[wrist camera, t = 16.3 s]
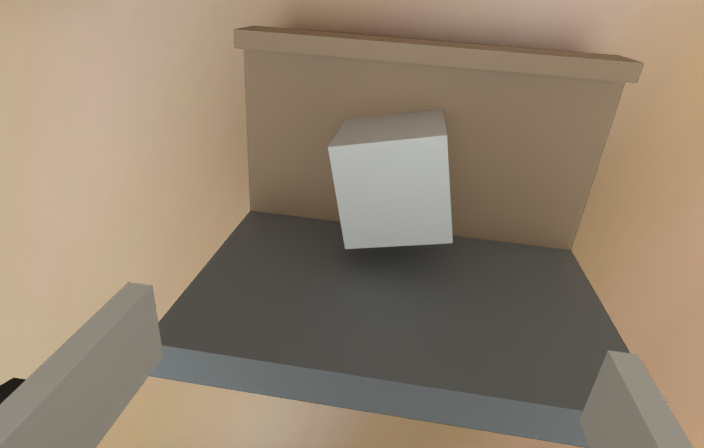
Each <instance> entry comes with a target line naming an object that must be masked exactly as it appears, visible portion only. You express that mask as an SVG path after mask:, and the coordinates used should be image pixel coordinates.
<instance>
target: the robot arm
mask: <svg viewBox="0 0 704 448" xmlns="http://www.w3.org/2000/svg"><path fill="white" fill-rule="evenodd" d="M162 357H163V350H162V344H161V337H160V331H159V324H158V318H157V312H156V305H155V299H154V292H153V286H152V285H145V284H138V283H131V282H128V283H127V284H126V285H125V286H124V287H123V288H122V289H121V290H120V291H119V292H118V293H117V294H116V295H115V296H113V297H112V298H111V299H110V300H109V301H108V302H107V303H106V304H105V305H104V306H103V307H102V308H101V309H100V310H99V311H98V312H97V313H96V314H95V315H94V316H92V317H91V318H90V319H89V320H88V321H87V322H86V323H85V324H84V325H83V326H82V327H81V328H80V329H79V330H78V331H77V332H76V333H75V334H74V335H73V336H72V337H70V338H69V339H68V340H67V341H66V342H65V343H64V344H63V345H62V346H61V347H60V348H59V349H58V350H57V351H56V352H55V353H54V354H53V355H52V356H51V357H49V358H48V359H47V360H46V361H45V362H44V363H43V364H42V365H41V366H40V367H39V368H38V369H37V370H36V371H35V372H34V373H33V374H32V375H31V376H30V377H28V378H27V379H26V380H25V379H19V378H12V379H11V380H9V381H7V382H6V383H4V384H2V385H0V448H96V447H97V445H98V444H99V443H100V441H101V440H102V439H103V437H104V436H105V434H106V433H107V432H108V430H109V429H110V428H111V426H112V425H113V424H114V422H115V421H116V420H117V418H118V417H119V415H120V414H121V413H122V411H123V410H124V409H125V407H126V406H127V405H128V403H129V402H130V400H131V399H132V398H133V396H134V395H135V394H136V392H137V391H138V390H139V388H140V387H141V385H142V384H143V383H144V381H145V380H146V379H147V377H148V376H149V375H150V373H151V372H152V371H153V369H154V368H155V366H156V365H157V364H158V362H159V361H160V360H161V358H162ZM579 423H580V425H581V428H582V431H583V434H584V436H585V439H586V442H587V444H588V447H589V448H693V446H692V445H691V443H690V441H689V440H688V438H687V436H686V435H685V433H684V431H683V430H682V428H681V426H680V425H679V423H678V421H677V420H676V418H675V416H674V415H673V413H672V411H671V410H670V408H669V406H668V405H667V403H666V401H665V400H664V398H663V396H662V395H661V393H660V391H659V390H658V388H657V386H656V385H655V383H654V381H653V380H652V378H651V376H650V375H649V373H648V371H647V370H646V368H645V366H644V365H643V363H642V361H641V360H640V358H639V356H638V355H637V354H631V353H624V352H617V351H610V350H608V351H607V354H606V356H605V359H604V361H603V363H602V366H601V368H600V371H599V373H598V376H597V378H596V381H595V383H594V385H593V388H592V390H591V393H590V395H589V398H588V400H587V403H586V405H585V407H584V410H583V412H582V415H581V417H580V420H579Z"/></svg>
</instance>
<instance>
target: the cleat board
mask: <svg viewBox="0 0 704 448" xmlns="http://www.w3.org/2000/svg"><path fill="white" fill-rule="evenodd" d="M234 44H235V48H239V49H244V60H245V86H246V111H247V136H248V162H249V187H250V212H249V213H248V214H247V215H246V217H245V218H244V219H243V220H242V222H241V223H240V224H239V225H238V226H237V228H236V229H235V230H234V231H233V233H232V234H231V235H230V236H229V237H228V239H227V240H226V241H225V242H224V243H223V245H222V246H221V247H220V248H219V250H218V251H217V252H216V253H215V254H214V256H213V257H212V258H211V259H210V261H209V262H208V263H207V264H206V265H205V267H204V268H203V269H202V270H201V271H200V273H199V274H198V275H197V276H196V278H195V279H194V280H193V281H192V282H191V284H190V285H189V286H188V287H187V289H186V290H185V291H184V292H183V293H182V295H181V296H180V297H179V298H178V299H177V301H176V302H175V303H174V304H173V306H172V307H171V308H170V309H169V310H168V312H167V313H166V314H165V315H164V317H163V318H162V319H161V320H160V321H159V323H158V324H159V331H160V337H161V344H162V350H163V357H162V358H161V360H160V361H159V362H158V364H157V365H156V366H155V368H154V369H153V371H152V372H151V373H150V375H149V376H151V377H157V378H163V379H169V380H176V381H182V382H188V383H194V384H200V385H206V386H212V387H218V388H225V389H231V390H237V391H243V392H249V393H255V394H261V395H267V396H274V397H280V398H286V399H292V400H298V401H304V402H310V403H316V404H323V405H329V406H335V407H341V408H347V409H353V410H359V411H365V412H372V413H378V414H384V415H390V416H396V417H402V418H408V419H414V420H421V421H427V422H433V423H439V424H445V425H451V426H457V427H463V428H469V429H476V430H482V431H488V432H494V433H500V434H506V435H512V436H518V437H525V438H531V439H537V440H543V441H549V442H555V443H561V444H567V445H574V446H580V447H586V448H589V447H588V444H587V442H586V439H585V436H584V434H583V431H582V428H581V425H580V423H579V420H580V417H581V415H582V412H583V410H584V407H585V405H586V403H587V400H588V398H589V395H590V393H591V390H592V388H593V385H594V383H595V381H596V378H597V376H598V373H599V371H600V368H601V366H602V363H603V361H604V359H605V356H606V354H607V351H608V350H610V351H617V352H624V353H630V352H629V350H628V349H627V347H626V345H625V343H624V342H623V340H622V338H621V336H620V335H619V333H618V331H617V329H616V328H615V326H614V324H613V322H612V321H611V319H610V317H609V315H608V314H607V312H606V310H605V309H604V307H603V305H602V303H601V302H600V300H599V298H598V296H597V295H596V293H595V291H594V289H593V288H592V286H591V284H590V282H589V281H588V279H587V277H586V275H585V274H584V272H583V270H582V269H581V267H580V265H579V263H578V262H577V260H576V258H575V256H574V255H573V253H572V251H571V248H572V245H573V242H574V239H575V236H576V233H577V230H578V226H579V223H580V220H581V217H582V214H583V211H584V208H585V205H586V202H587V199H588V196H589V192H590V189H591V186H592V183H593V180H594V177H595V174H596V171H597V168H598V165H599V162H600V158H601V155H602V152H603V149H604V146H605V143H606V140H607V137H608V134H609V131H610V128H611V124H612V121H613V118H614V115H615V112H616V109H617V106H618V103H619V100H620V97H621V94H622V90H623V87H624V84H625V82H631V83H638V80H639V77H640V74H641V71H642V68H643V65H644V63H642V62H639V61H635V60H632V59H629V58H625V57H622V56H619V55H607V54H594V53H582V52H570V51H557V50H545V49H533V48H521V47H508V46H496V45H484V44H472V43H459V42H447V41H435V40H422V39H410V38H398V37H386V36H373V35H361V34H349V33H336V32H324V31H312V30H300V29H287V28H275V27H263V26H250V27H244V28H238V29H234ZM435 109H443V112H444V119H445V125H446V132H447V144H448V162H449V181H450V199H451V217H452V236H453V243H448V244H430V245H412V246H393V247H375V248H357V249H345V246H344V240H343V234H342V228H341V222H340V216H339V210H338V205H337V199H336V193H335V187H334V181H333V175H332V169H331V163H330V157H329V151H328V146H329V145H330V143H331V141H332V140H333V138H334V137H335V135H336V134H337V132H338V131H339V129H340V128H341V126H342V125H343V123H344V122H345V120H346V119H354V118H363V117H372V116H381V115H390V114H399V113H408V112H417V111H426V110H435Z"/></svg>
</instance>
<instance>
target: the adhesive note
mask: <svg viewBox="0 0 704 448" xmlns="http://www.w3.org/2000/svg"><path fill="white" fill-rule="evenodd" d="M328 151H329V157H330V163H331V169H332V175H333V181H334V187H335V193H336V199H337V205H338V210H339V216H340V222H341V228H342V234H343V240H344V246H345V249H357V248H375V247H393V246H412V245H430V244H448V243H453V236H452V217H451V199H450V181H449V162H448V144H447V132H446V125H445V119H444V112H443V109H435V110H426V111H417V112H408V113H399V114H390V115H381V116H372V117H363V118H354V119H346V120H345V122H344V123H343V125H342V126H341V128H340V129H339V131H338V132H337V134H336V135H335V137H334V138H333V140H332V141H331V143H330V145H329V146H328Z"/></svg>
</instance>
